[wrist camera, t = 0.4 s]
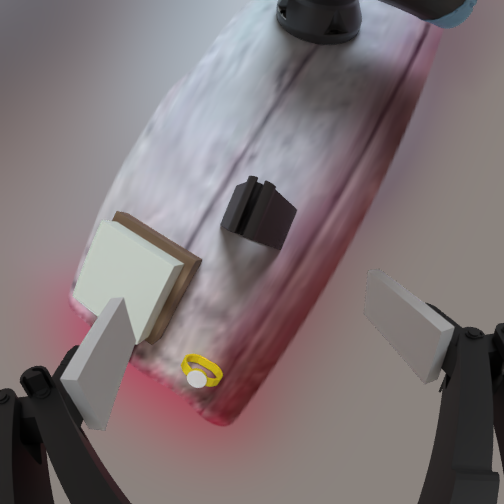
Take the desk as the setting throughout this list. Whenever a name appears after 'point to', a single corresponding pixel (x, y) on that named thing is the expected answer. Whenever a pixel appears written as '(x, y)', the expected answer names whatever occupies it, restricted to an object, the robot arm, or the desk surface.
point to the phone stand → (259, 213)
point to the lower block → (175, 251)
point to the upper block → (127, 276)
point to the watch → (200, 371)
